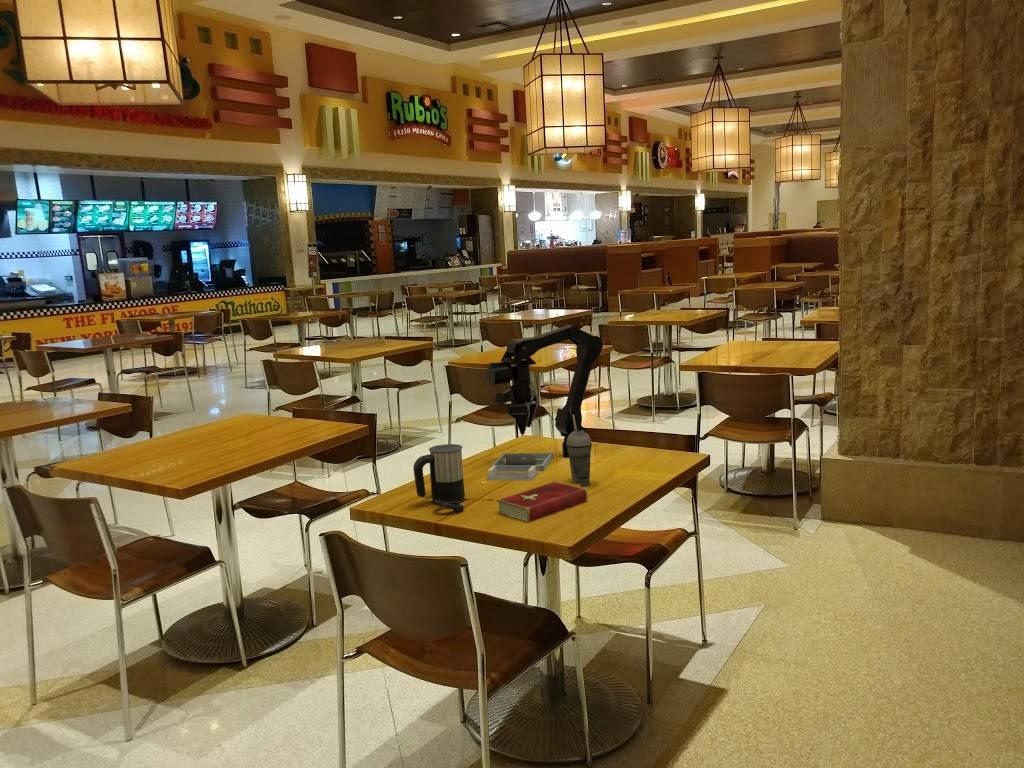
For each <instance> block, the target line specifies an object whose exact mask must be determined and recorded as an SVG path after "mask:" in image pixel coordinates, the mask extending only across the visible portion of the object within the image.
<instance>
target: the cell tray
mask: <svg viewBox="0 0 1024 768" xmlns="http://www.w3.org/2000/svg"><path fill="white" fill-rule="evenodd" d="M507 456H535V459H536V465H505V464H504V461H505V458H506V457H507ZM553 459H554V453H553V452H505V453H504V452H503V453H502V454H501V455H500V456H499V457H498V458H497V459H496V460H495V461H494V462H493V463H492V464H491V465H490V468H491V467H492V466H496V470H497V472H528V470H529V469H530V468H531V466H536V472H544V471H545V469H546V468H547V467H548V466H549V464H550V463H551V462H552V460H553Z"/></svg>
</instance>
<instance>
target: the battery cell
mask: <svg viewBox="0 0 1024 768" xmlns="http://www.w3.org/2000/svg"><path fill="white" fill-rule="evenodd" d="M504 464H505V465H536V459H535V456H507V457H506V458H505V461H504Z"/></svg>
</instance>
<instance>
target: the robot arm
mask: <svg viewBox="0 0 1024 768" xmlns="http://www.w3.org/2000/svg"><path fill="white" fill-rule="evenodd" d="M564 341H570V342H571V343H572V344H573V345H576V350H575V354H576V359H577V361H576V365H575V369H574V373H573V377H572V380H571V383H570V387H569V390H568V395H567V398H566V403H565V405H564V406H563V407H562V408H560V407H558V408H557V410H556V415H555V417H554V422H555V423H554V427H555V428H556V430H557V431H558V432H559V433H560V436H561V437H563V442H562V445H561V446H562V456H563V458H564V459H566V458H567V459H569V453H568V450H567V446H566V444H567V438H568V436H569V435H570V433H572V432H573V431H575V428H574V422H573V416H572V415H574V417H575V423H576V428H577V430H583V431H585V432H586V433H587V434H588V435H589V431H588V430H587V429H586V428H585V427H584V426H582V425H583V423H582V421H583V415H582V404H583V400H584V397H585V393H586V390H587V386H588V383H589V378H590V374H591V372H592V366H594V365H593V364H595V362H596V361H597V360H598V358H599V357H600V355H601V353H602V350H603V348H604V341H603V340H602V338H601V337H600V336H598V335H592V334H591V333H589V332H587V331H584V330H583V329H581V328H579V327H577V326H576V325H574V324H565V325H563V326H562V327H557V328H555V329H553V330H549V331H547V332H544V333H541V334H537V335H535V336H531V337H520V338H514V339H510V340H509V341H508V343H507V345H506V350H505V352H504V354H503V355H502V357H501V359H500V361H496V362H494V361H493V362H489V363H488V367H487V371H486V379H487V382H488V385H490V386H497V385H503V384H510V383H511V382H512V383H511V385H510V387H509V389H507V390H505V391H499V392H496V394H495V396H494V402H495V403H496V404H497V406H498V407H501V406H503V405H504V404H506V403H509V402H510V404H509V405H508V406H507V408H506V410H507V415H509V416H510V417H512V418H513V419H514V421H515V422H516V425H517V429H518V430H519V434H520V435H525V433H526V431H527V428H530V427H532V422H533V420H534V417H535V413H536V410H537V408H538V405H539V404H538V403H539V402H540V400H539V399H540V397H539V394H538V393H536V392H533V391H532V386H533V384H534V383H533V381H532V378H531V367H530V366H532V365H536V364H537V362H536V361H535V360H533V358H532V356H533V355H535V354H536V353H537V352H538V351H540V350H542V349H544V348H547V347H548V348H549V347H550V346H553V345H556V344H559V343H562V342H564Z"/></svg>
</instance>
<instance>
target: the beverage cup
mask: <svg viewBox="0 0 1024 768" xmlns="http://www.w3.org/2000/svg"><path fill="white" fill-rule="evenodd" d="M572 416H573V422H574V428H575V431H573V432H572V433H570V435H569V436H568V438H567V444H566V446H567V450H568V453H569V458H568V460H569V466H570V473H571V480H572V483H574V484H579V487H580V486H584V487H587V485H588V486H589V485H590V479H591V476H590V475H591V455H592V454H591V453H592V446H593V443H592V439H591V437H590V435H589V433H588V434H587V433H586V432H585V431H583V430H577V428H576V423H575V417H574V415H572Z"/></svg>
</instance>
